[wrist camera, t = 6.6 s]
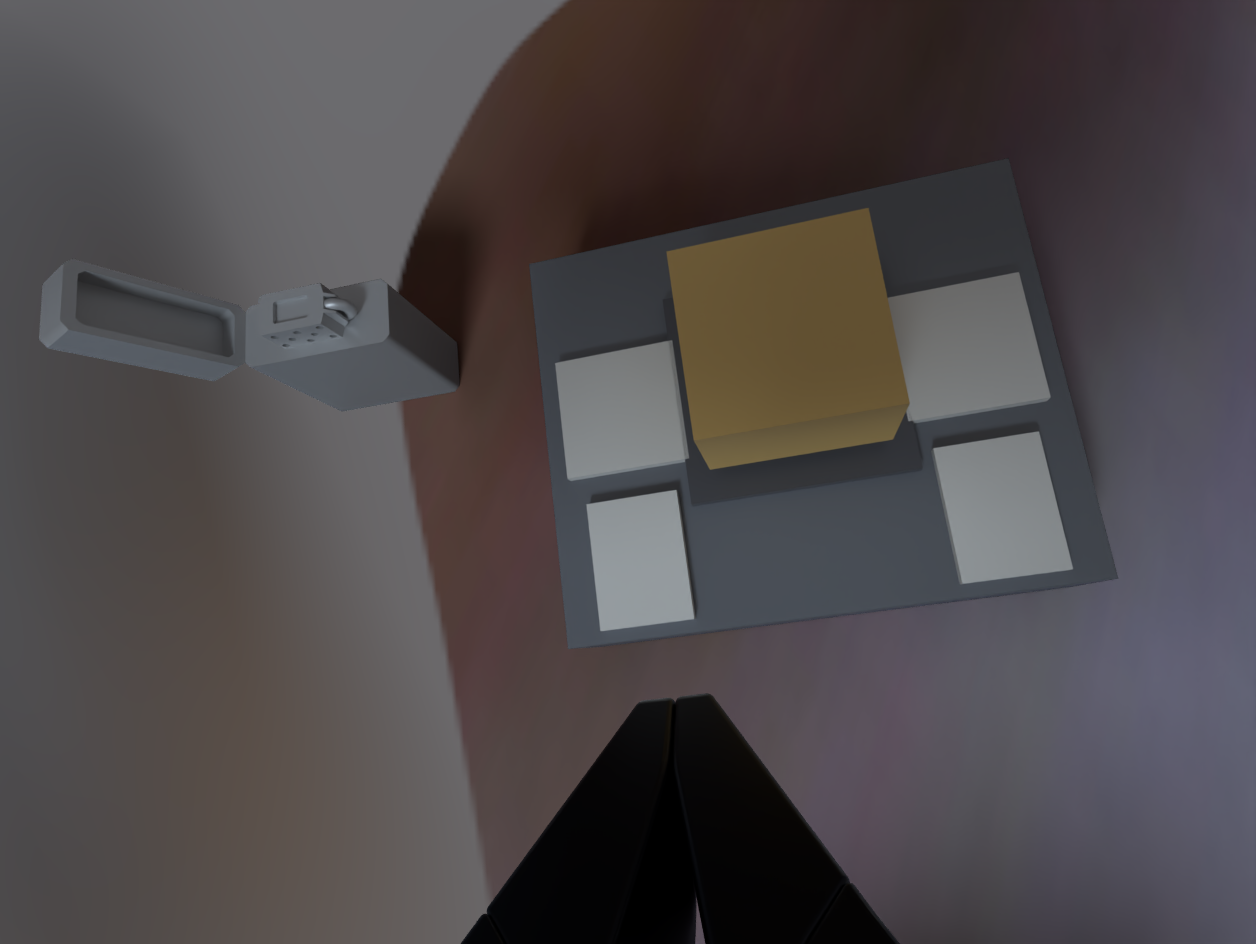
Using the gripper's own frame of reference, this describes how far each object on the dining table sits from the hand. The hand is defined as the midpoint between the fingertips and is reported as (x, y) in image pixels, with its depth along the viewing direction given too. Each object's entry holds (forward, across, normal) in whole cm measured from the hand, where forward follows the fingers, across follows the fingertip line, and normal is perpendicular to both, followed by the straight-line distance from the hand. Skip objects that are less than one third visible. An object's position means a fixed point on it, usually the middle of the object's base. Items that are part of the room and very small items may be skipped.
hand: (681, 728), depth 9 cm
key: (+10, -3, -2) cm, 11 cm away
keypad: (+13, -3, +1) cm, 14 cm away
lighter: (+16, +10, -2) cm, 19 cm away
